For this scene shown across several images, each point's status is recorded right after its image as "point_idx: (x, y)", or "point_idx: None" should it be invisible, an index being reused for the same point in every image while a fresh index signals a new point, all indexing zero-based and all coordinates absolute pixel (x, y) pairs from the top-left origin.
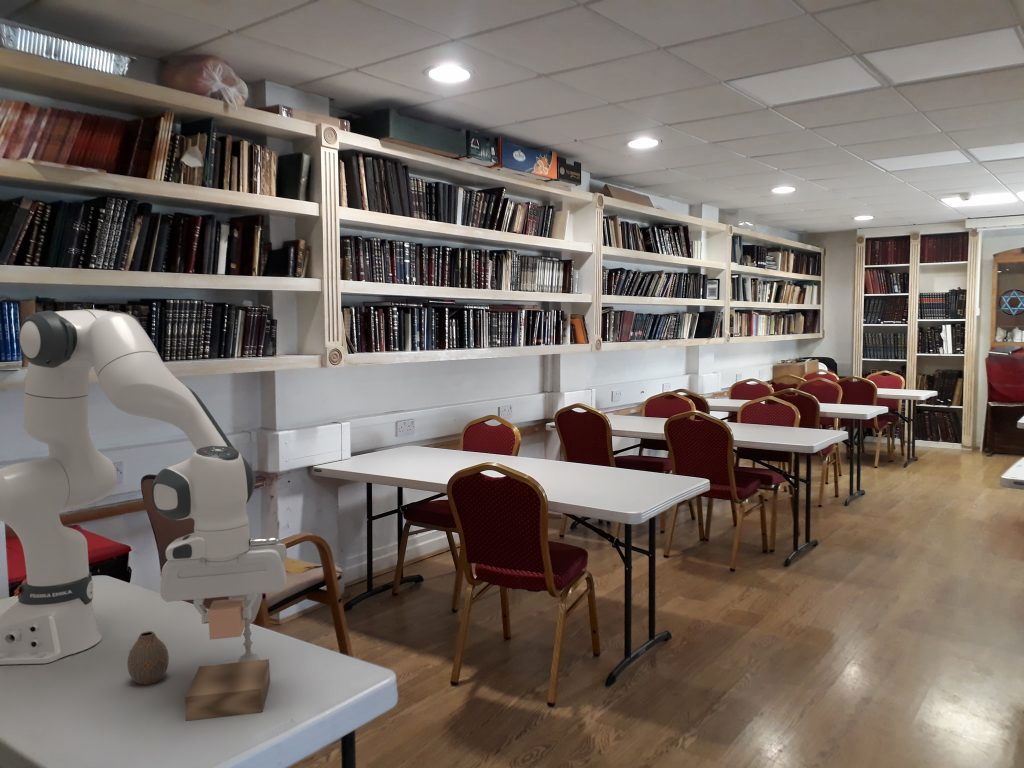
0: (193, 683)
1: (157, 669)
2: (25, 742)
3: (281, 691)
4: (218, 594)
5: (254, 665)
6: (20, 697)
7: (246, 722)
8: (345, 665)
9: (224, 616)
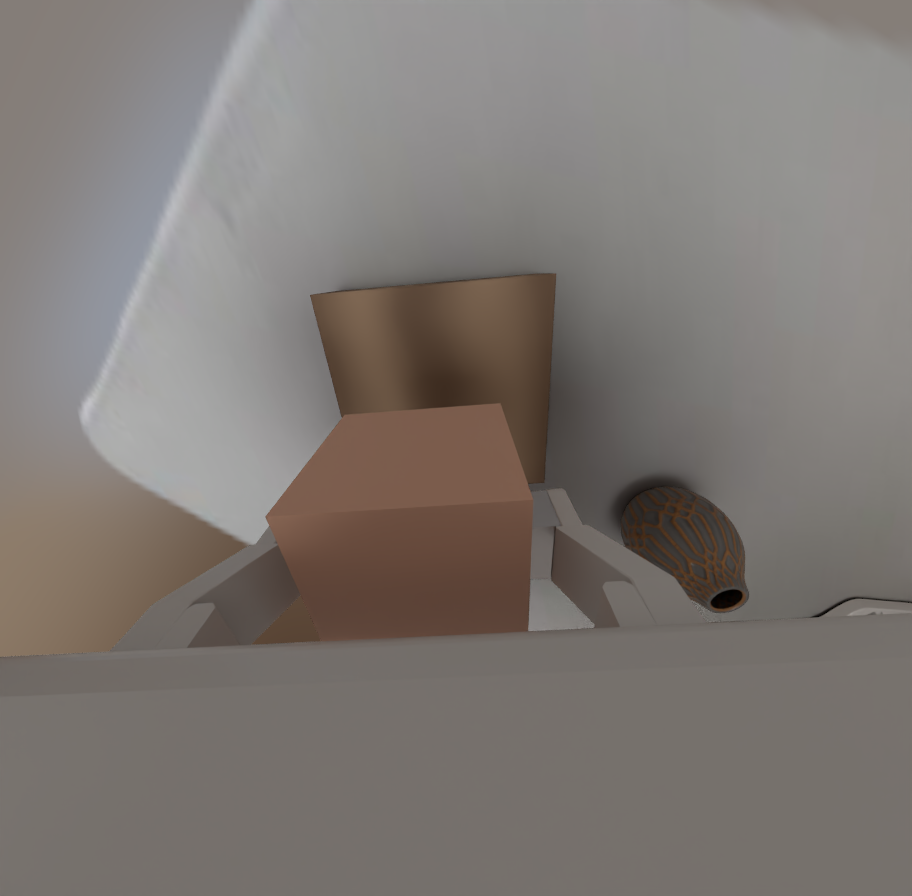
0: (543, 375)
1: (648, 505)
2: None
3: (327, 404)
4: (441, 664)
5: None
6: None
7: (361, 228)
8: (223, 506)
9: (404, 473)
